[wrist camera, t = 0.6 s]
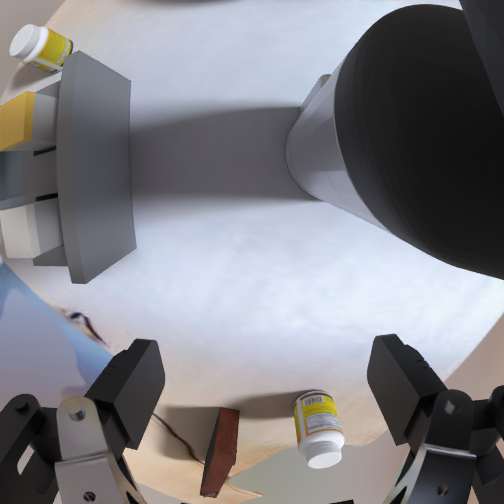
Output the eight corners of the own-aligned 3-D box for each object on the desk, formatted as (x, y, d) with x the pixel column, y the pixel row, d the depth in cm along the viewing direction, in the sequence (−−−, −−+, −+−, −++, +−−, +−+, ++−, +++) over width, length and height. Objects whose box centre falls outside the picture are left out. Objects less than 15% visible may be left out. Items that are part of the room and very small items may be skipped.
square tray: (2, 144, 24) (-7, 144, 22) (41, 127, 24) (31, 126, 22) (4, 208, 26) (-5, 211, 24) (43, 200, 26) (33, 203, 24)
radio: (222, 461, 38) (214, 529, 24) (205, 458, 38) (194, 526, 24) (245, 401, 33) (240, 497, 19) (223, 397, 33) (209, 492, 19)
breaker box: (57, 104, 23) (0, 92, 13) (131, 81, 22) (79, 50, 13) (64, 249, 28) (9, 278, 18) (136, 248, 27) (85, 284, 18)
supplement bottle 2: (311, 419, 34) (321, 475, 24) (284, 405, 33) (289, 465, 23) (340, 398, 33) (357, 454, 23) (314, 382, 32) (327, 444, 22)
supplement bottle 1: (75, 34, 20) (37, 13, 12) (77, 60, 21) (34, 40, 13) (48, 54, 21) (8, 38, 12) (49, 80, 22) (5, 67, 14)
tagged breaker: (53, 114, 20) (0, 106, 12) (80, 104, 20) (27, 90, 12) (51, 150, 21) (-4, 151, 13) (79, 143, 21) (23, 139, 13)
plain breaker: (53, 198, 23) (-1, 211, 15) (81, 193, 22) (25, 205, 15) (58, 235, 24) (6, 258, 16) (85, 234, 24) (33, 258, 16)
